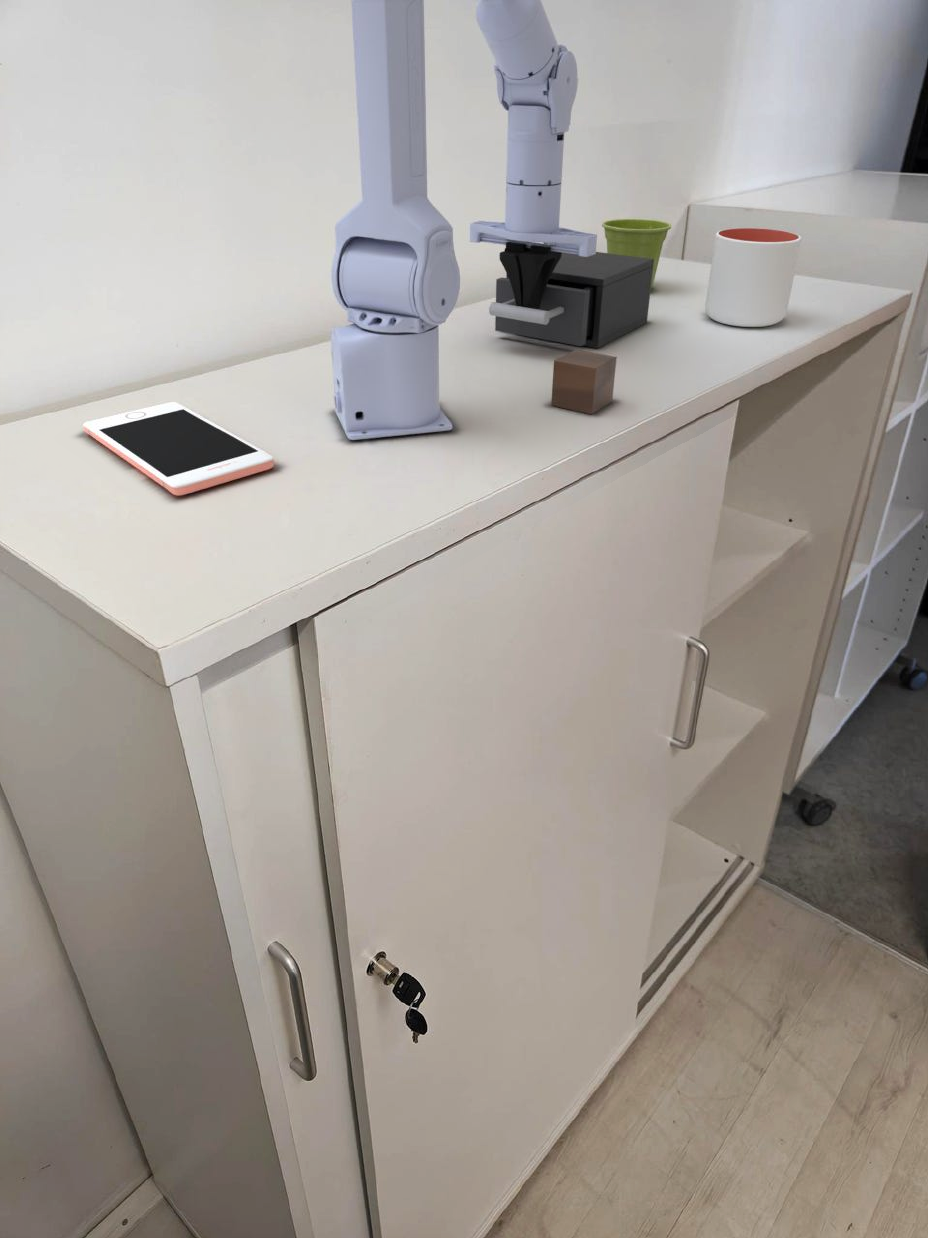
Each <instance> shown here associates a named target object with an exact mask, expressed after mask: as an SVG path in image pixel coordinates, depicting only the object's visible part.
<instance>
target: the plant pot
mask: <svg viewBox="0 0 928 1238" xmlns="http://www.w3.org/2000/svg"><path fill="white" fill-rule="evenodd" d="M601 227H602V228H604V229H603V231H604V238H605V240H606V250H607V251H606V253H610V254H618V255H626V256H633V257H641V258H649V259H654V264H653V273H652V282H651V290H653V285H654V282H655V279H656V274H657V270H658V265H659V261H660V257H661V254H662V249H663V245H664V242H665V240H666V239H667V235H668V232H669V230H670V229H671V228H672V224H671V223H669V222H667V221H662V220H657V219H656V220H655V219H643V218H617V219H615V218H614V219H610V220H605V221H602V223H601Z"/></svg>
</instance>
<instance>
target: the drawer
mask: <svg viewBox="0 0 928 1238" xmlns="http://www.w3.org/2000/svg"><path fill="white" fill-rule="evenodd" d="M596 290H597V286H594V285H587V284H581V283H574V282H567V281H560V280H553V279H549V281H548V283H547V286H546V288H545V291H544V294H543V297H542V300H541V304H540V308H539V310H538V309H532V308H526V307H520V306H516V302H515V297H514V293H513V290H512V286H511V283H510V280H509V278H506V277H499V278H496V281H495V302H494V301H492V302H491V303H490V304H489V308H488V313H489V315H490V316H494V317H495V322H494V323H495V324H494V330H495V332H502V333H506V334H512V335H517V336H522V337H523V336H524V337H528V338H533V339H540V340H543V341H544V340H545V341H550V342H555V343H561V344H565V345H566V344H567V345H571V346H578V347H583V346H582V345H584V344H586V337H588V336H590V335H592V334H593V327H594V315H595V302H596Z"/></svg>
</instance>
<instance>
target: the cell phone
mask: <svg viewBox="0 0 928 1238" xmlns="http://www.w3.org/2000/svg"><path fill="white" fill-rule="evenodd" d="M83 429H84V432H85V434H88V435H89V436H91V437H92V438H93V439H95V440H96V441H98V442H99V443H101V444H102V445H103V446H105V447H106V448H107V449H109V450H110V451H112V452H113V453H114V454H116V455H117V456H119V457H120V458H122V459H123V460H124V461H126V462H127V463H129V464H130V465H132V466H133V467H134V468H136V469H137V470H139V471H140V472H142V473H143V474H144V475H146V476H147V477H149V478H150V479H151V480H153V481H154V482H156V483H157V484H158V485H160V486H162V487H163V488H164V489H166V490H167V491H168V492H169V493H171V494H172V495H174V496H184V495H187V494H192V493H195V492H198V491H201V490H204V489H208V488H212V487H214V486H218V485H221V484H225V483H228V482H231V481H234V480H237V479H241V478H245V477H248V476H251V475H254V474H257V473H261V472H265V471H268V470H270V469H272V468H274V466H275V461H274V457H273V455H271V454H269V453H268V452H267V451H264V450H263V449H261V448H259V447H258V446H255V444H252V443H250V442H249V441H247V440H245V439H243V438H241V437H240V436H237V435H236V434H234V433H232V432H231V431H229V430H227V429H226V428H223V427H222V426H220V425H218V424H216V423H214V422H213V421H211V420H210V419H208V418H205V417H204V416H202V415H201V414H198V413H197V412H195V411H193V410H191V409H190V408H188V407H186V406H184V405H182V404H181V403H178V402H176V401H171V402H166V403H165V402H164V403H161V404H157V405H153V406H147V407H143V408H139V409H136V410H131V411H127V412H123V413H119V414H114V415H109V416H106V417H102V418H97V419H93V420H88V421H86V422H84V423H83Z"/></svg>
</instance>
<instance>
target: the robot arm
mask: <svg viewBox="0 0 928 1238" xmlns="http://www.w3.org/2000/svg"><path fill="white" fill-rule="evenodd" d="M350 4H351V21H352V22H351V23H352V40H353V57H354V58H353V59H354V75H355V77H354V78H355V93H356V112H357V114H356V115H357V129H358V131H357V133H358V148H359V149H358V150H359V167H360V168H359V169H360V185H361V199H360V201H358V203H356V204H355V205H354V206H353V207H352V208H351V209H350V210H349V211H347V212H346V213H345V214H344V215H343V216H342V217H341V218H340V219H339V220H338V222H336V224H335V225H334V232H335V247H334V255H333V259H332V263H331V268H330V269H331V270H330V277H331V278H330V279H331V280H330V281H331V286H332V291H333V294H334V298H335V300H336V301H337V303H338V304H339V305H340V307H341V308H342V309H344V310H345V311H347V321H348V323H351V324H348V325H344V326H343V325H342V326H336V327H332V328H331V332H330V334H331V335H330V337H331V338H330V346H331V347H330V349H331V361H332V376H333V389H334V390H333V391H334V394H333V400H334V401H333V403H334V412H335V415H336V416H337V418H338V420H339V423H340V425H341V426H342V429H343V432H344V433H345V435H346V438H347V439H348V440H350V441H357V440H365V439H366V440H368V439H376V438H377V439H378V438H386V437H397V436H407V435H408V436H409V435H415V434H416V435H417V434H427V433H436V432H446V431H447V432H448V431H451V430H453V423H452V422H451V421H450V419H449V418H448V416H447V414H445V413H444V411H443V410H442V408H440V345H439V344H440V343H439V341H440V340H439V339H440V338H439V331H440V330H439V326H440V325H442V324H444V323H446V321H447V319H448V318H449V316H450V315H451V313H453V310H454V309H455V307H456V304H457V302H458V298H459V296H460V295H459V294H460V289H461V273H460V267H459V264H458V261H457V258H456V252H455V247H454V246H455V244H454V227H453V226H452V224H451V223H450V221H448V220H447V219H446V217H445V216H444V215H443V214H442V213H441V212H440V211H439V210H438V209H437V208H436V207H435V205H433V203H432V201H430V199H429V197H428V162H427V161H428V159H427V157H428V154H427V107H426V106H427V105H426V102H427V101H426V96H427V95H426V49H425V45H426V43H425V41H426V40H425V0H350ZM475 18H476V23H477V26H478V27H479V29H480V32H481V33H482V36H483V38H484V39H485V42H486V44H487V46H488V48H489V50H490V52H491V54H492V56H493V59H494V64H493V69H494V74H495V76H496V78H495V79H496V91H497V97H498V102H499V104H500V105H501V106H502V108H503V109H504V110H505V111H507V134H506V135H507V138H506V139H507V141H506V170H505V171H506V172H505V173H506V175H505V181H506V182H505V205H504V206H505V209H504V221H503V222H502V221H499V222H498V221H486V220H477V221H474V222H470V223H469V242H470V243H476V244H477V243H478V244H479V243H488V244H493V245H494V244H495V245H502V246H505V247H504V251H500V252H499V253H498V255H499V257H498V258H499V261H500V263H501V265H502V267H503V269H504V271H505V273H507V275H508V278H509V280H510V283H511V286H512V290H513V293H514V297H515V302H516V306H520V307H526V308H532V309H538V310H539V308H540V304H541V300H542V297H543V294H544V291H545V288H546V286H547V283H548V281H549V279H550V276H551V274H552V272H553V271H554V269H555V267H556V265H557V263H558V262H559V260H560V258H561V255H562V252H564V253H571V254H579V256H583V257H588V256H591V255H594V254H596V252H597V241H598V233H597V234H596V233H590V232H589V233H588V232H585V231H584V232H583V231H579V230H574V229H569V228H565V227H561V226H560V217H561V216H560V214H561V199H562V198H561V196H562V182H563V180H562V179H563V165H564V162H563V161H564V144H565V133H567V132H569V130H570V126H571V120H572V119H571V118H572V109H573V106H574V103H575V100H576V97H577V92H578V86H579V77H578V64H577V59H576V57H575V54H574V53H573V52H572V51H571V50H569V49H568V48H567V47H566V46H565V45H563V44H559V43H558V42H557V39H556V36H555V33H554V31H553V28H552V26H551V23H550V20H549V18H548V15H547V13H546V10H545V7H544V5H543V2H542V0H478V2H477V6H476V10H475Z"/></svg>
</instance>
